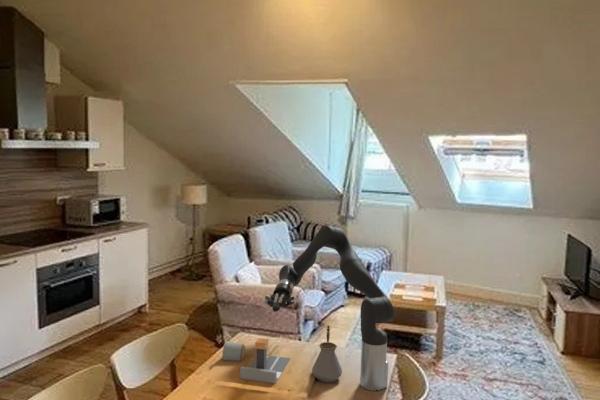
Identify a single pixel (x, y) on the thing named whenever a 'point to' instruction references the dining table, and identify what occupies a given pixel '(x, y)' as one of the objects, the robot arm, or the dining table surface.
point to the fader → (261, 353)
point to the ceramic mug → (233, 351)
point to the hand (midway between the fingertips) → (275, 309)
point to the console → (265, 370)
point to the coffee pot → (327, 362)
